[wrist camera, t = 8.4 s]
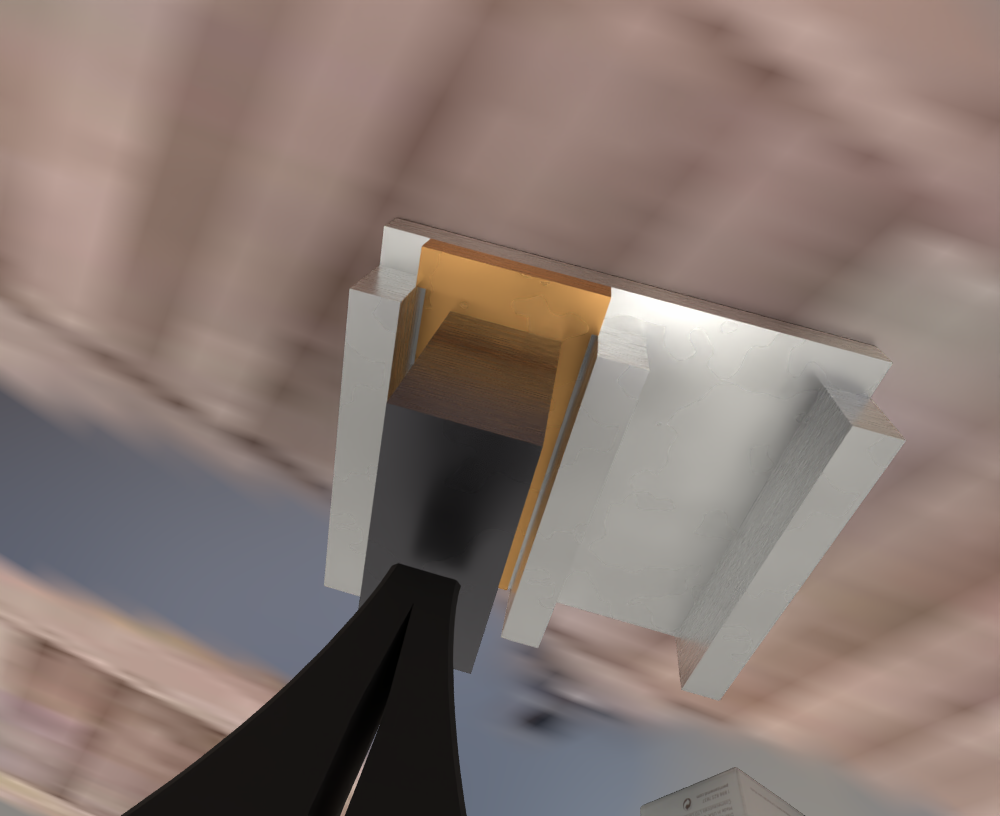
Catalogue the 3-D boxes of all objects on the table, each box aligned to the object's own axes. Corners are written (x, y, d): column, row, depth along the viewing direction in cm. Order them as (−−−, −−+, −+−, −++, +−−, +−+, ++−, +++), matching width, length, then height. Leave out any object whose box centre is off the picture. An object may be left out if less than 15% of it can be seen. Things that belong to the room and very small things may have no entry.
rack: (875, 346, 15) (933, 402, 12) (705, 622, 20) (719, 700, 18) (396, 218, 15) (353, 245, 12) (359, 523, 21) (323, 586, 18)
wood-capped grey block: (561, 341, 15) (543, 446, 11) (503, 536, 18) (470, 674, 14) (450, 311, 15) (386, 402, 11) (413, 510, 18) (354, 639, 14)
